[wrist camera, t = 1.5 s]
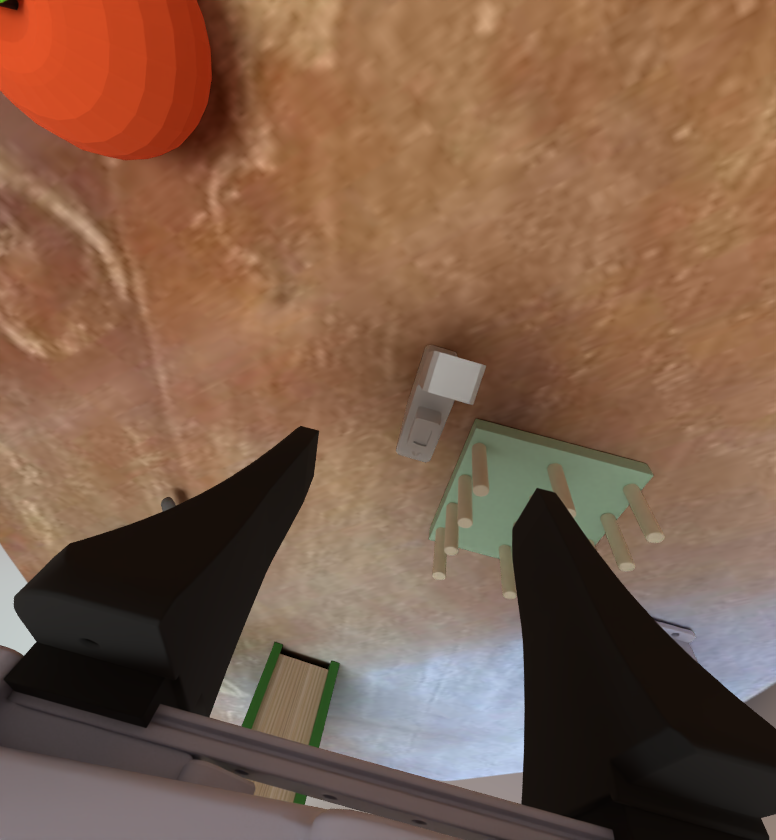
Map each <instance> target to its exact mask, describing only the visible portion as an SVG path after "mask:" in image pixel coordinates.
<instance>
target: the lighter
mask: <svg viewBox="0 0 776 840" xmlns="http://www.w3.org/2000/svg"><path fill="white" fill-rule="evenodd" d="M485 368H486V366H485V365H482V364H479V363H475V362H472V361H468V360H465V359H462V358H458V356H457V354H456V352H454V351H450V350H447V349H444V348H440V347H437V346H433V345H428V346H426V347H425V350H424V353H423V356H422V359H421V362H420V365H419V369H418V372H417V375H416V378H415V381H414V384H413V387H412V390H411V393H410V396H409V400H408V403H407V406H406V410H405V414H404V419H403V423H402V427H401V431H400V435H399V440H398V444H397V448H396V452H397V453H398V454H399V455H402V456H405V457H409V458H412V459H415V460H419V461H422V462H428V461H430V460H431V457H432V455H433V452H434V450H435V447H436V445H437V443H438V440H439V438H440V435H441V433H442V430H443V428H444V425H445V423H446V421H447V418H448V416H449V413H450V411H451V408H452V406H453V403H454V401H455V400H457V401H460V402H463V403H467V404H471V405H473V404H474V401H475V398H476V395H477V392H478V389H479V386H480V383H481V380H482V377H483V374H484V371H485Z"/></svg>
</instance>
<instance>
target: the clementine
mask: <svg viewBox="0 0 776 840" xmlns="http://www.w3.org/2000/svg"><path fill="white" fill-rule="evenodd" d="M211 80H212V71H211V49H210V44H209V40H208V35H207V31H206V26H205V22H204V17H203V15H202V12H201V10H200V7H199V5H198V3H197V0H0V91H1V92H2V93H3V94H4V95H5V96H6V97H7V98H8V99H9V100H10V101H11V102H12V103H13V104H14V105H15V106H16V107H18V108H19V109H20V110H21V111H22V112H23V113H25V114H26V115H27V116H28V117H29V118H30V119H32V120H33V121H34V122H35V123H36V124H38V125H40V126H41V127H43V128H45V129H47V130H48V131H50V132H52V133H54V134H55V135H57V136H59V137H61V138H62V139H64V140H66V141H68V142H69V143H71V144H73V145H75V146H77V147H78V148H80V149H82V150H85V151H89V152H92V153H96V154H100V155H104V156H108V157H113V158H118V159H122V160H136V159H148V158H152V157H156V156H160V155H163V154H165V153H167V152H169V151H171V150H173V149H175V148H177V147H179V146H180V145H181V144H182V143H183V142H184V141H185V140H186V139H187V137H188V136H189V135H190V134H191V133H192V132H193V131H194V129H195V128H196V127H197V125H198V124H199V122H200V120H201V118H202V115H203V113H204V111H205V108H206V106H207V104H208V99H209V93H210V86H211Z"/></svg>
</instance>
